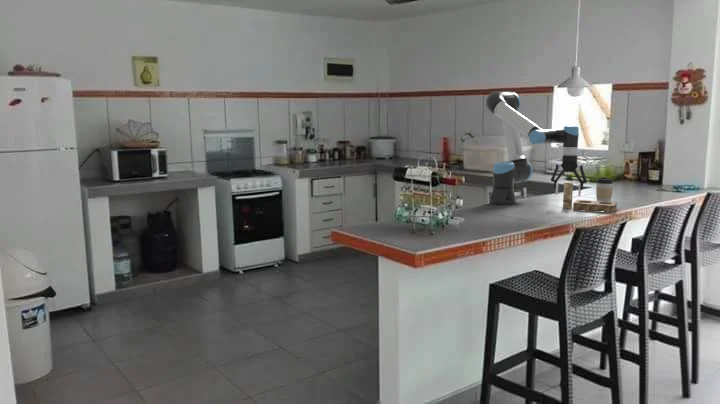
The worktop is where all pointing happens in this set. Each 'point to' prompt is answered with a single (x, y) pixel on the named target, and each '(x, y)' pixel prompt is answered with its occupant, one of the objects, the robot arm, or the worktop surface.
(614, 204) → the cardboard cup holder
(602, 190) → the coffee cup
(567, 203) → the leg
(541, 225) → the worktop surface
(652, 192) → the worktop surface
